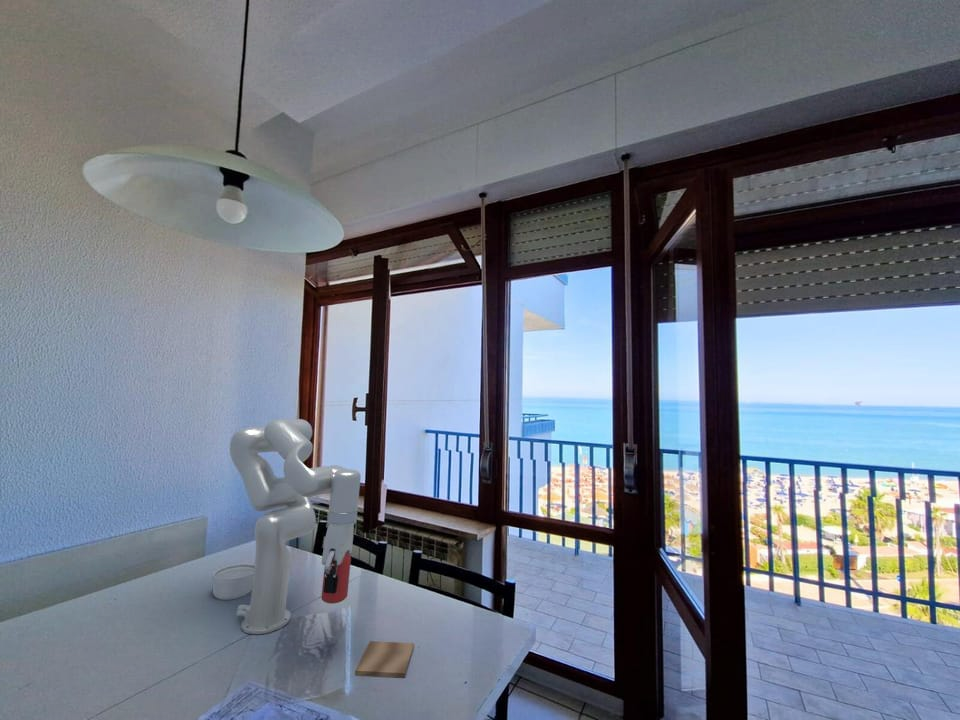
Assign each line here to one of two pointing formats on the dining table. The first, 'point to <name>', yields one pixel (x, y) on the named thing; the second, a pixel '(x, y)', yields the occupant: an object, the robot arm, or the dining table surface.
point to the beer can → (339, 582)
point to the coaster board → (385, 659)
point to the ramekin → (233, 581)
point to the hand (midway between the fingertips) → (335, 585)
